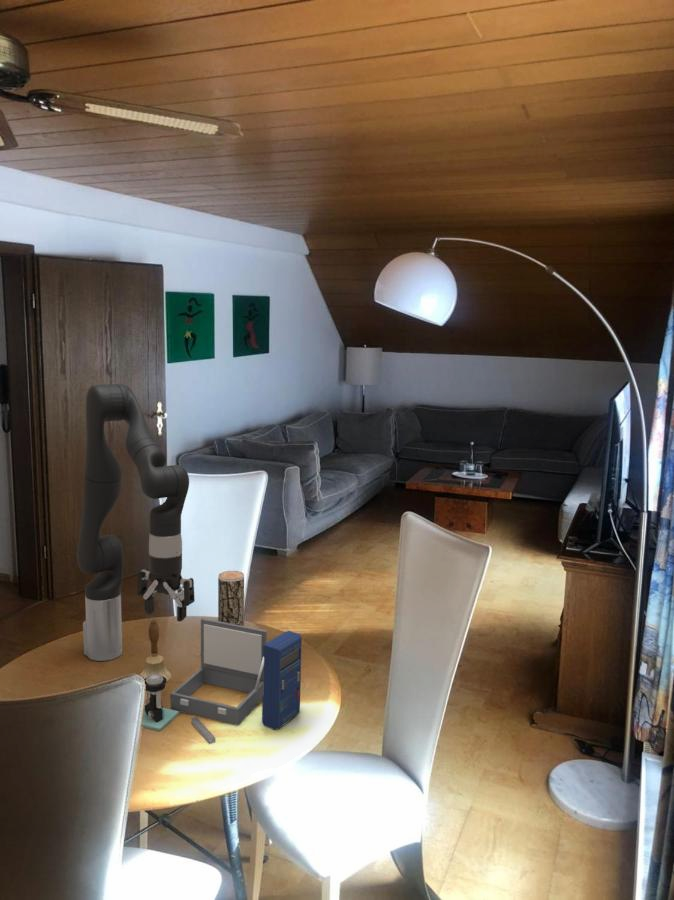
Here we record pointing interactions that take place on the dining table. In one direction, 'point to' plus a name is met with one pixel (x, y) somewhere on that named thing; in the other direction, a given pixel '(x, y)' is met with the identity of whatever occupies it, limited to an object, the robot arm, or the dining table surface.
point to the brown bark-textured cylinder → (231, 597)
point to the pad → (159, 725)
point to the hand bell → (155, 655)
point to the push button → (155, 696)
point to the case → (225, 671)
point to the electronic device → (281, 679)
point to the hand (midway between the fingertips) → (165, 616)
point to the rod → (203, 730)
